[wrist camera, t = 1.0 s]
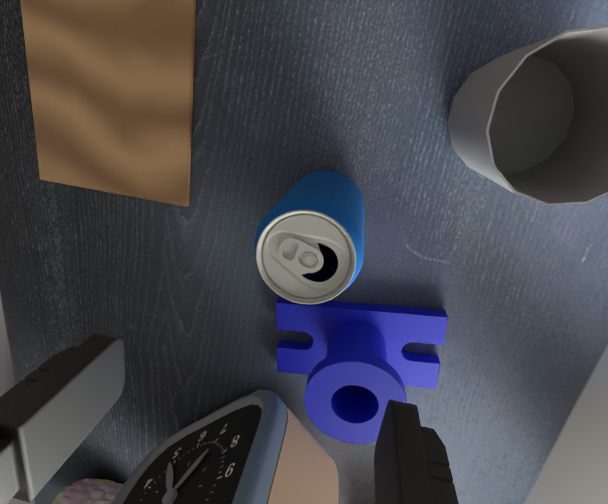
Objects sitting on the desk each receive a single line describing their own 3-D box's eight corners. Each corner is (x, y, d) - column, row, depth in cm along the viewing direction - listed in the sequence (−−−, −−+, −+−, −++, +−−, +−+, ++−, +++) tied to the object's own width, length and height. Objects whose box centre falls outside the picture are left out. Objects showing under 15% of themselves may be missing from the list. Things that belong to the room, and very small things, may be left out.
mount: (444, 310, 34) (469, 373, 26) (433, 379, 37) (453, 456, 29) (279, 296, 36) (253, 351, 28) (279, 363, 39) (256, 431, 31)
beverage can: (343, 255, 34) (331, 328, 23) (276, 223, 34) (232, 281, 22) (378, 190, 31) (385, 235, 20) (307, 155, 31) (274, 181, 20)
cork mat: (23, -28, 30) (16, -30, 29) (196, -4, 28) (193, -6, 28) (44, 178, 35) (39, 179, 35) (189, 205, 34) (186, 206, 34)
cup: (509, 196, 30) (574, 235, 21) (424, 135, 29) (451, 148, 20) (598, 97, 27) (722, 92, 18) (505, 27, 26) (581, -17, 17)
